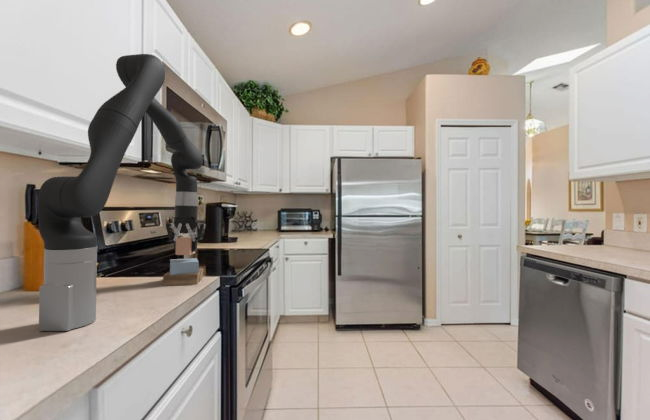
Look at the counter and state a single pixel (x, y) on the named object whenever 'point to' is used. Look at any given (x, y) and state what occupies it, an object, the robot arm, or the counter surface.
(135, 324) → the counter surface
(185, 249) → the stack block
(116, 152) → the robot arm
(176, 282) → the base block
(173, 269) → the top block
